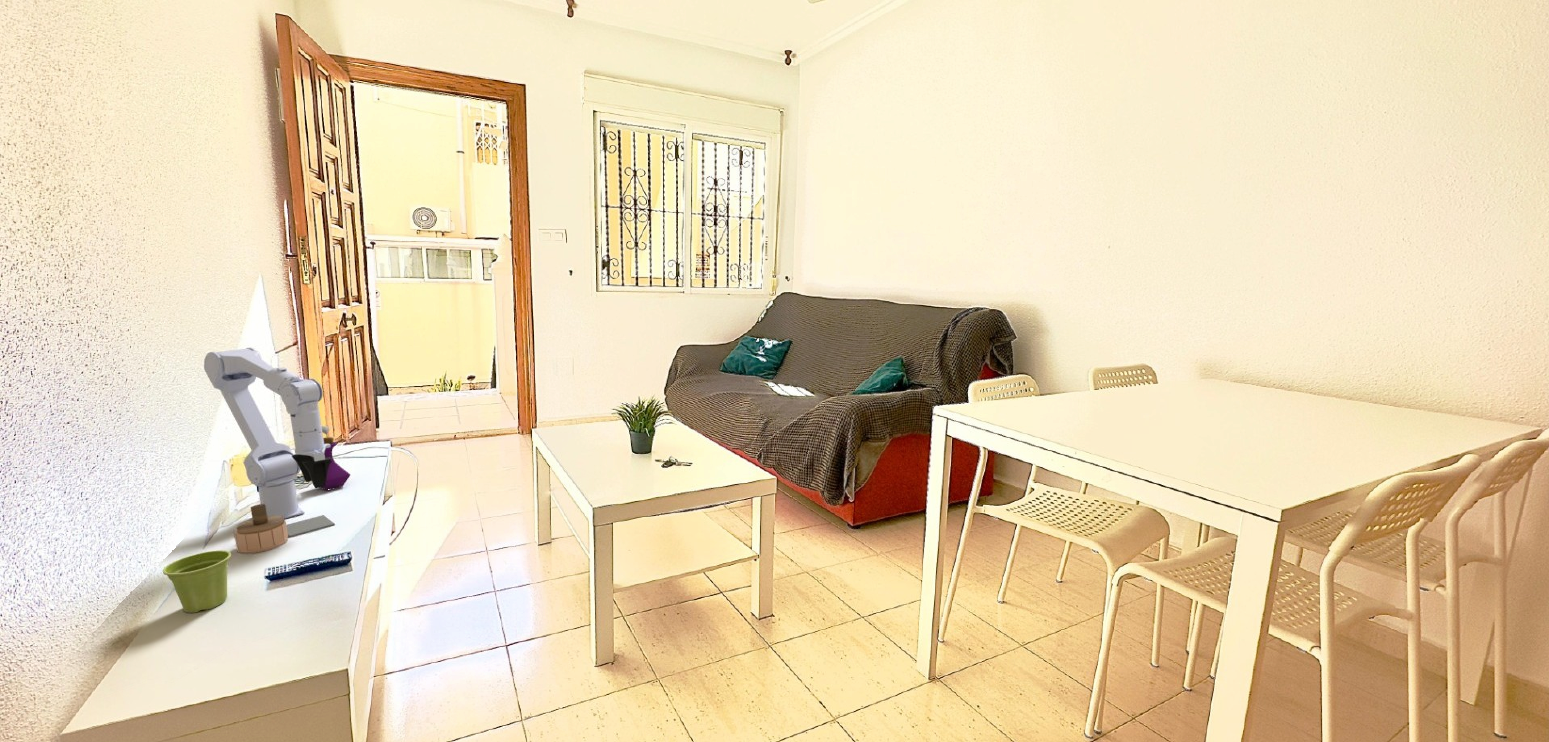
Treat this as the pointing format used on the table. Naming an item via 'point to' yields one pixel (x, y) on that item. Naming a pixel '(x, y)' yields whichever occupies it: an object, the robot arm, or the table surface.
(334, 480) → the perfume bottle
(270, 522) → the lid
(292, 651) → the table surface
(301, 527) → the mat
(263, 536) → the peach cylinder
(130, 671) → the table surface
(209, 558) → the plant pot
